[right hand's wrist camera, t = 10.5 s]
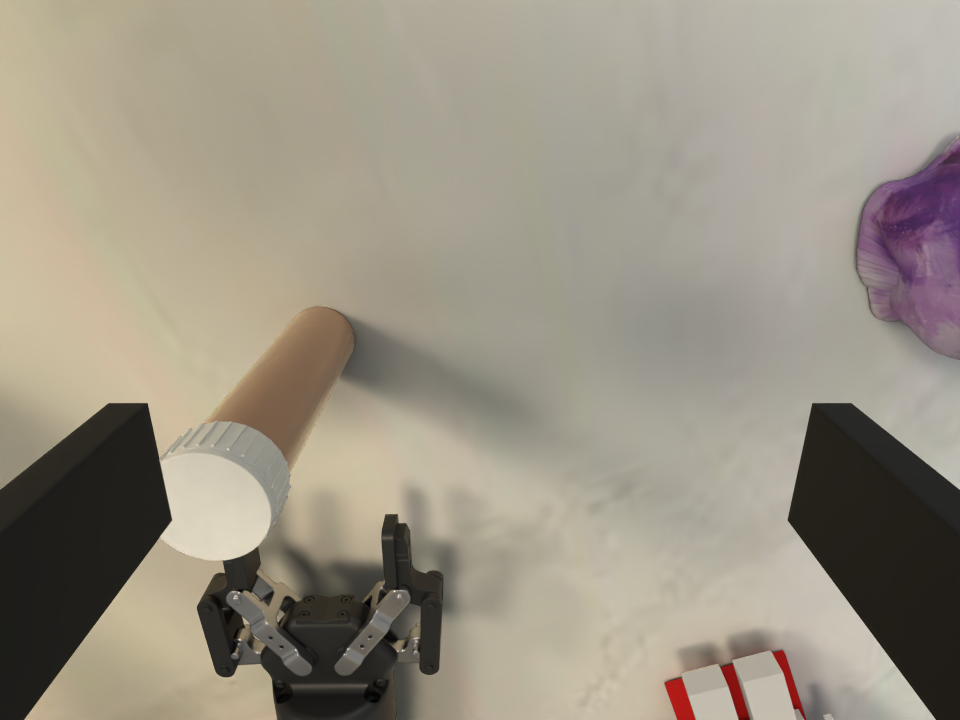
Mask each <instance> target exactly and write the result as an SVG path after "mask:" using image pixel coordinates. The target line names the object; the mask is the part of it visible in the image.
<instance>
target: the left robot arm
mask: <svg viewBox="0 0 960 720" xmlns="http://www.w3.org/2000/svg"><path fill="white" fill-rule="evenodd" d="M382 553H383V566H384V580H383V582H378V583H377V584H376V585H375V586H374V588H373V589H372V590H371V591H370V592H369V593H368V595H367V596H366V597H365V598H364V599H363V600H362V601H360V600H357V599H354V595H340V596H336V597H331V598H327V597H322V596H317V595H304V597H303V600H302V599H301V598H300V597H299V596H297V595H296V594H295V593H294V592H293V591H292V590H291V589H290V588H289V587H287V586H286V585H285V584H284V583H282V582H280V583H274V582H273V581H272V580H271V579H270V578H269V577H268V576H267V575H265V574H264V573H263V572H262V571H261V570H260V569H259V566H260V564H261V562H260V556H259V550H258V546H257V547H256V548H255V549H254V550H252V551H251V552H249V553H247V554H245V555H243V556H241V557H238V558H234V559H230V560H223V564H224V569H225V573H217V574H215V575H214V577H213V578H212V580H211V582H210V584H209V586H208V587H207V589H206V591H205V593H204V595H203V596H202V598H201V600H200V602H199V604H198V605H197V611H198V614H199V618H200V621H201V624H202V628H203V631H204V634H205V638H206V641H207V644H208V648H209V651H210V655H211V658H212V661H213V665H214V668H215V671H216V673H217V674H218V675H220V676H222V677H231V676H232V675H234V673H235V671H236V668H237V666H238V665H248V664H262V666H263V668H264V669H265V670H266V671H267V672H268V673H269V674H270V676H271V678H272V685H273V697H274V703H275V709H276V715H277V720H397V712H396V700H395V687H394V673H393V668H394V666H395V665H396V663H397V662H403V663H420V664H419V668H420V671H421V672H422V673H424V674H427V675H432V674H435V673H437V672H438V670H439V661H440V645H441V626H442V602H443V575H442V574H441V573H440V572H439V571H435V570H432V571H429V572H427V573H426V574H425V573H422V572H419V571H417V570H416V569H415V568H414V567H413V565H412V558H411V540H410V530H409V528H408V526H407V524H406V523H399V522H398V514H386V515H385V519H384V523H383V528H382ZM252 592H253V593H254V594H255V595H256V596H258V597H259V599H260V601H259V600H258V599H257V598H256V597H254V596H253V595H252V594H251V593H252ZM408 603H412V604H415V605H419V606H421V623H417V624H416V627H414V628H412V629H411V630H410V632H409V635H408V637H407V638H405V639H403V640H399V638H398V636H397V634H396V633H395V632H394V631H393V630H392V629H391V628H390V626H391V624H392V622H393V620H394V619H395V618H396V617H397V616H398V615H399V613H400V612H401V611H402V610H403V609H404V608H405V607H406V606H407V605H408ZM279 609H281V610H282V611H283V612H284V613H285V615H284V616H283V617H282V618H281V620H280V621H279V622H277V614H278V612H279ZM242 616H243V617H244V618H245V619H246V620H247V621H248V622H249V623H250V625H249V624H245V625H244V623H243V619H242ZM250 630H251V631H250ZM252 633H253V634H252ZM253 635H255V636H256V637H257V638H258V639H259V640H260V641H259V640H257V639H256V638H255V637H254V636H253Z"/></svg>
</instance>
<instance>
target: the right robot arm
mask: <svg viewBox="0 0 960 720" xmlns="http://www.w3.org/2000/svg"><path fill="white" fill-rule="evenodd" d="M171 521H172V516H171V511H170V507H169V502H168V497H167V493H166V488H165V483H164V479H163V474H162V469H161V464H160V460H159V455H158V450H157V446H156V441H155V436H154V431H153V427H152V422H151V417H150V413H149V408H148V403H108V404H107V405H106V406H105V407H103V408H102V409H101V410H100V411H98V412H97V413H96V414H95V415H93V416H92V417H91V418H90V419H88V420H87V421H86V422H85V423H83V424H82V425H81V426H80V427H78V428H77V429H76V430H75V431H73V432H72V433H71V434H70V435H68V436H67V437H66V438H65V439H63V440H62V441H61V442H60V443H58V444H57V445H56V446H55V447H53V448H52V449H51V450H50V451H48V452H47V453H46V454H45V455H43V456H42V457H41V458H40V459H38V460H37V461H36V462H35V463H33V464H32V465H31V466H30V467H28V468H27V469H26V470H25V471H23V472H22V473H21V474H20V475H18V476H17V477H16V478H15V479H13V480H12V481H11V482H10V483H8V484H7V485H6V486H5V487H3V488H2V489H1V490H0V720H24V719H25V718H26V716H27V715H28V714H29V712H30V711H31V710H32V708H33V707H34V706H35V704H36V703H37V701H38V700H39V699H40V697H41V696H42V695H43V693H44V692H45V691H46V689H47V688H48V687H49V685H50V684H51V683H52V681H53V680H54V679H55V677H56V676H57V675H58V673H59V672H60V671H61V669H62V668H63V667H64V665H65V664H66V662H67V661H68V660H69V658H70V657H71V656H72V654H73V653H74V652H75V650H76V649H77V648H78V646H79V645H80V644H81V642H82V641H83V640H84V638H85V637H86V636H87V634H88V633H89V632H90V630H91V629H92V628H93V626H94V625H95V624H96V622H97V621H98V619H99V618H100V617H101V615H102V614H103V613H104V611H105V610H106V609H107V607H108V606H109V605H110V603H111V602H112V601H113V599H114V598H115V597H116V595H117V594H118V593H119V591H120V590H121V589H122V587H123V586H124V585H125V583H126V582H127V581H128V579H129V578H130V576H131V575H132V574H133V572H134V571H135V570H136V568H137V567H138V566H139V564H140V563H141V562H142V560H143V559H144V558H145V556H146V555H147V554H148V552H149V551H150V550H151V548H152V547H153V546H154V544H155V543H156V542H157V540H158V539H159V537H160V536H161V535H162V533H163V532H164V531H165V529H166V528H167V527H168V525H169V524H170V523H171ZM788 521H789V523H790V524H791V525H792V527H793V528H794V529H795V531H796V532H797V533H798V535H799V536H800V537H801V539H802V540H803V542H804V543H805V544H806V546H807V547H808V548H809V550H810V551H811V552H812V554H813V555H814V556H815V558H816V559H817V560H818V562H819V563H820V564H821V566H822V567H823V568H824V570H825V571H826V572H827V574H828V575H829V576H830V578H831V579H832V581H833V582H834V583H835V585H836V586H837V587H838V589H839V590H840V591H841V593H842V594H843V595H844V597H845V598H846V599H847V601H848V602H849V603H850V605H851V606H852V607H853V609H854V610H855V611H856V613H857V614H858V615H859V617H860V618H861V619H862V621H863V622H864V624H865V625H866V626H867V628H868V629H869V630H870V632H871V633H872V634H873V636H874V637H875V638H876V640H877V641H878V642H879V644H880V645H881V646H882V648H883V649H884V650H885V652H886V653H887V654H888V656H889V657H890V658H891V660H892V661H893V663H894V664H895V665H896V667H897V668H898V669H899V671H900V672H901V673H902V675H903V676H904V677H905V679H906V680H907V681H908V683H909V684H910V685H911V687H912V688H913V689H914V691H915V692H916V693H917V695H918V696H919V697H920V699H921V700H922V701H923V703H924V704H925V706H926V707H927V708H928V710H929V711H930V712H931V714H932V715H933V716H934V718H935V719H936V720H960V490H959V489H958V488H957V487H955V486H954V485H953V484H952V483H950V482H949V481H948V480H947V479H945V478H944V477H943V476H942V475H940V474H939V473H938V472H937V471H935V470H934V469H933V468H932V467H930V466H929V465H928V464H927V463H925V462H924V461H923V460H922V459H920V458H919V457H918V456H917V455H915V454H914V453H913V452H912V451H910V450H909V449H908V448H907V447H905V446H904V445H903V444H902V443H900V442H899V441H898V440H897V439H895V438H894V437H893V436H892V435H890V434H889V433H888V432H887V431H885V430H884V429H883V428H882V427H880V426H879V425H878V424H877V423H875V422H874V421H873V420H872V419H870V418H869V417H868V416H867V415H865V414H864V413H863V412H862V411H860V410H859V409H858V408H857V407H855V406H854V405H853V404H851V403H812V408H811V413H810V417H809V422H808V427H807V431H806V436H805V441H804V446H803V450H802V455H801V460H800V464H799V469H798V474H797V479H796V483H795V488H794V493H793V497H792V502H791V507H790V511H789V516H788Z"/></svg>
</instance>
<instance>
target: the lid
mask: <svg viewBox="0 0 960 720" xmlns="http://www.w3.org/2000/svg"><path fill="white" fill-rule="evenodd" d="M159 460H160V464H161V469H162V474H163V479H164V483H165V488H166V493H167V497H168V502H169V507H170V511H171V516H172V521H171V523H170V524H169V525H168V527H167V528H166V529H165V531H164V532H163V533H162V535H161V536H160V538H161V539H162V540H163V541H164V542H165V543H167V544H168V545H169V546H171V547H172V548H174V549H176V550H177V551H179V552H181V553H183V554H186V555H188V556H191V557H194V558H198V559H203V560H212V561H222V560H230V559H234V558H238V557H241V556H243V555H245V554H247V553H249V552H251V551H252V550H254V549H255V548H256V547H257V546H259V545H260V543H261V542H262V541H263V540H264V538H265V537H266V535H268V534H269V532H270V530H271V528H272V526H273V525H274V524H275V522H276V520H277V518H278V516H279V514H280V512H281V510H282V508H283V506H284V504H285V502H286V500H287V498H288V496H287V494H288V491H289V489H290V487H291V485H289V482H290V476H291V473H289V470H288V466H287V464H288V463H287V461H286V460H285V458H284V456H283V454H282V453H281V450H279V448H278V447H277V446H276V445H275V444H274V443H273V442H272V440H271V439H269V438H268V437H266V436H265V435H264V434H262V433H261V432H260V431H257V430H255V429H253V428H251V427H249V426H247V425H243V424H239V423H234V422H232V421H229V422H224V421H221V422H218V421H214V422H211V423H206V424H204V423H202V424H200V426H198V427H196V428H193V429H192V428H190V429H189V430H188V431H187V432H186V433H185V434H184V435H183V436H180V437H179V438H178V439H177V440H176V441H175V442H174V443H173V445H172V446H171V447H170V448H169V449H168V450H167V451H166V452H165V453H164V455H163V456H162V457H161V458H160V459H159Z"/></svg>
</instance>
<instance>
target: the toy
mask: <svg viewBox="0 0 960 720" xmlns="http://www.w3.org/2000/svg"><path fill="white" fill-rule="evenodd" d="M732 662H733V664H731V665H728V666H724V667H720V666H719V664H714V665H710V666H706V667H702V668H698V669H694V670H691V671H687V672H683V673H681V676H682V678H680V679H677V680H673V681H670V682H666V683H665V686H666V689H667V692H668V695H669V698H670V700H671V703H672V706H673V709H674V712H675V714H676V717H677V720H806V718H805V715H804V712H803V709H802V705H801V702H800V699H799V696H798V693H797V690H796V687H795V683H794V680H793V677H792V674H791V671H790V668H789V664H788V661H787V658H786V655H785V653H784V652H783V650H782V651H779V652H775V653H772V652H771V650H770V651H766V652H762V653H758V654H754V655H750V656H746V657H742V658H738V659H734V660H732ZM823 720H834V719H833V717H832V715H831V714H825V715H823Z"/></svg>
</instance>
